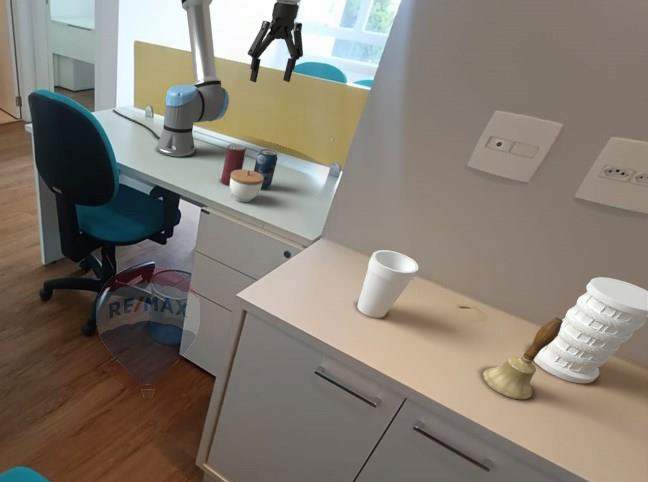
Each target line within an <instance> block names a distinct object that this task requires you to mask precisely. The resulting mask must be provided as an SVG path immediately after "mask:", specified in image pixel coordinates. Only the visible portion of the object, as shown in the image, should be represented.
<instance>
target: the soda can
mask: <svg viewBox="0 0 648 482" xmlns="http://www.w3.org/2000/svg"><path fill="white" fill-rule="evenodd" d="M277 163H278V152H277V151H275V150H272V149H268V148H267V149H266V148H263V149H260V150H259V152H258V154H257V156H256V160H255V163H254V168H253V171H255V172H258V173H260V174H261V175H263V177H264V180H263V183H262V187H261V189H260V191H261V190H262V191H263V190H268V189H269V188H270V187H271V186H272V182H273V178H274V175H275V170H276V166H277Z"/></svg>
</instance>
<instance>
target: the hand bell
mask: <svg viewBox="0 0 648 482" xmlns="http://www.w3.org/2000/svg"><path fill="white" fill-rule="evenodd" d="M562 322H563V320H562V319H561V318H559V317H554V318H553V319H552V320H549V321H548V322H547V323H545V324H544V325H542V326H541V327H540V328H539V329H538V331H537V332H536V334H535V336H534V338H533V341H532V344H531V345H530V347H528V349H527V350H526V351H525V352H524V353H523V355H522V356H512V357H510V358H508V359H507V360H506V361H505V362H504V363H503V364H501V365H499V366H497V367H490V368H486V370H484V371H483V374H482V378H483V380H484V381H485V383H486V384H487V385H488V386H489V387H490V388H491V389H492V390H494V391H495V392H497V393H499V394H500V395H502V396H505V397H507V398H510V399H514V400H528V399H529V398H531V396H532V394H533V388H532V386H531V381H532V378H533V377H534V375H535V374H536V372H537V368H536V366H535V365H534V363H533V362H534V359H535V357H536V356H537V354H538V353H539V352H540V350H541V349H543V348H544V347H545V346H547V345H549V344H550V343H551V342H552V341H553V340H554V339H555V338H556V337H557V335H558V334H559V331H560V328H561V325H562Z"/></svg>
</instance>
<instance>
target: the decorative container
mask: <svg viewBox="0 0 648 482" xmlns="http://www.w3.org/2000/svg"><path fill="white" fill-rule="evenodd" d="M585 288H586V292H585V293H584V294H581V295H580V296H579V297H578V298H577V301H576V304H575V305H574V306H572V307H571V308H569V309H568V310H567V311H566V314H565V317H564V318H563V319H561V320H563V322H562V325H561V328H560V331H559V334H558V335H557V337H556V338H555V339H554V340H553V341H552V342H551V343H550V344H549V345H547V346H545V347H544V348H543V349H541V350H540V352H539V353H538V354H537V356H536V357H535V359H534V360H533V362H535V364H536V365H538V366H539V367H540V368H542V370H544V371H546V372H548V374H551V375H553V376H555V377H557V378H559V379H562V380H564V381H567V382H571V383H575V384H590V383H592V382H594V381H595V380H596V379H597V378H598V377H599V375H600V369H599V368H600V367H602V366H603V365H605V363H607V361H608V359H609V356H612V355H614V354H615V353H617V352H618V351H619V350H620V347H621V345H622V344H623V343H625V342H627V341H628V340H630V339H631V338H632V336H633V334H634V332H635V331H637V330H639V329H640V328H642V327H644V325H645V324H646V322H647V319H648V290H647V289H645V288H643V287H640V286H638V285H635V284H633V283H630V282H627V281H624V280H620V279H617V278H612V277H605V276H597V277H594V278H592V279H590V281H589V282H588V283H587V285H586V286H585Z"/></svg>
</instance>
